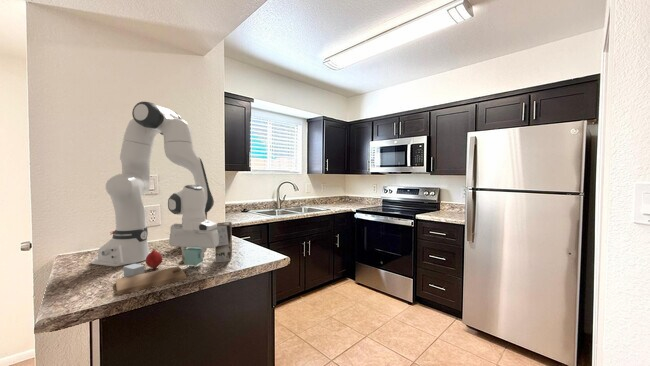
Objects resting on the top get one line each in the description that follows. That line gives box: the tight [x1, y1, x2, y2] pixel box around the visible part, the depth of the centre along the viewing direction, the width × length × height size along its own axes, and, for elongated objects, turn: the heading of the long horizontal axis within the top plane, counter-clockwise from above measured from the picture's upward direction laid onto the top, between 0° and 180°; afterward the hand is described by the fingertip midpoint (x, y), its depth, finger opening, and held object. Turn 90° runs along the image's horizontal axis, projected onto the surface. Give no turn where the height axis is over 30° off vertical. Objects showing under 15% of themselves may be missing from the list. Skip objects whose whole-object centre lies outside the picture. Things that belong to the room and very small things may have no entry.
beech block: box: [181, 247, 190, 263], centre depth 120 cm, size 5×5×5 cm
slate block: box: [123, 263, 146, 278], centre depth 101 cm, size 6×4×4 cm, turn 66°
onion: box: [145, 249, 163, 270], centre depth 109 cm, size 6×6×8 cm
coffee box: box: [214, 221, 233, 263], centre depth 121 cm, size 9×6×16 cm
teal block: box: [183, 247, 204, 266], centre depth 110 cm, size 5×5×6 cm
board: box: [115, 266, 187, 296], centre depth 96 cm, size 20×12×2 cm, turn 131°
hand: (193, 257), depth 110 cm, fingers closed on teal block, 5 cm apart
